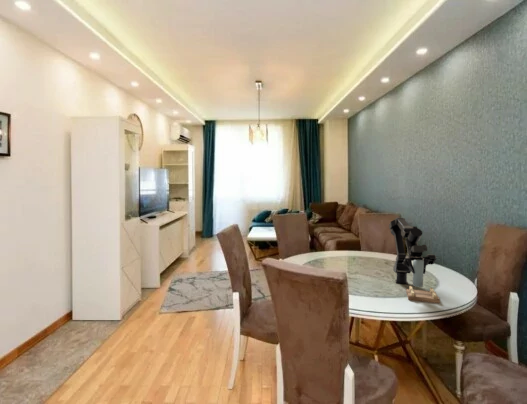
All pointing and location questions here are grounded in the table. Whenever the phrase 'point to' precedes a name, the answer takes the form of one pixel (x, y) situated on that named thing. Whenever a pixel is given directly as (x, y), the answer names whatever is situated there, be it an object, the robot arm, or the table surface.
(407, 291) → the display plinth
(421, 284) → the spectacles tube
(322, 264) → the table surface
